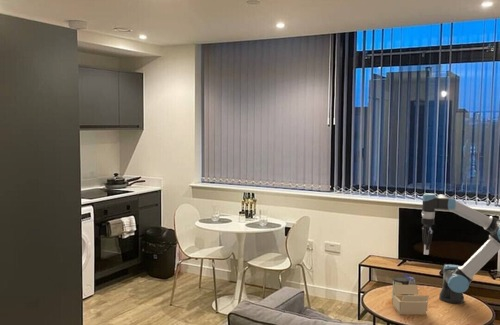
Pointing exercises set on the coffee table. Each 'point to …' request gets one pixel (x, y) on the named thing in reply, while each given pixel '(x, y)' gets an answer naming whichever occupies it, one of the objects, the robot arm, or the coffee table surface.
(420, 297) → the flap near camera
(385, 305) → the coffee table surface
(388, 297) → the coffee table surface
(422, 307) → the carton
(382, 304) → the coffee table surface
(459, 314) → the coffee table surface
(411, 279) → the ink cartridge box
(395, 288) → the flap far
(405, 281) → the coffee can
